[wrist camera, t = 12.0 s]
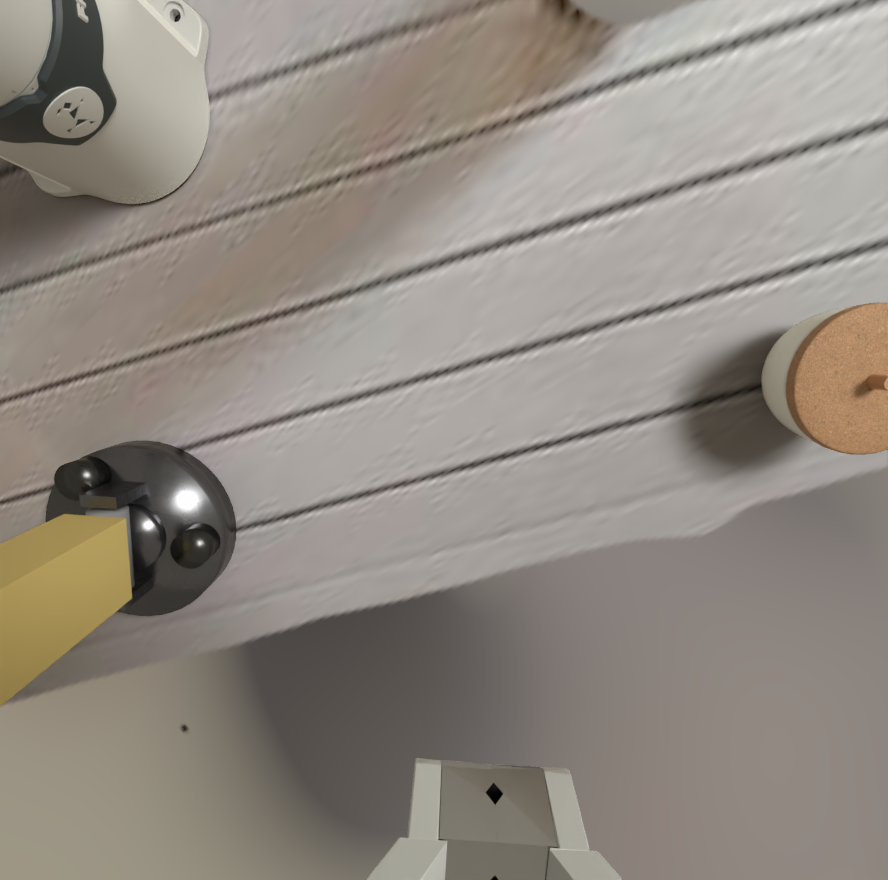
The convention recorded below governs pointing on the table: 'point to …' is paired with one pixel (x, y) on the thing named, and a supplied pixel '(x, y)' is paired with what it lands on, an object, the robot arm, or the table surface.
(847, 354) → the lidded jar
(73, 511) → the levelling base
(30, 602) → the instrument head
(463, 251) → the table surface
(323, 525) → the table surface
